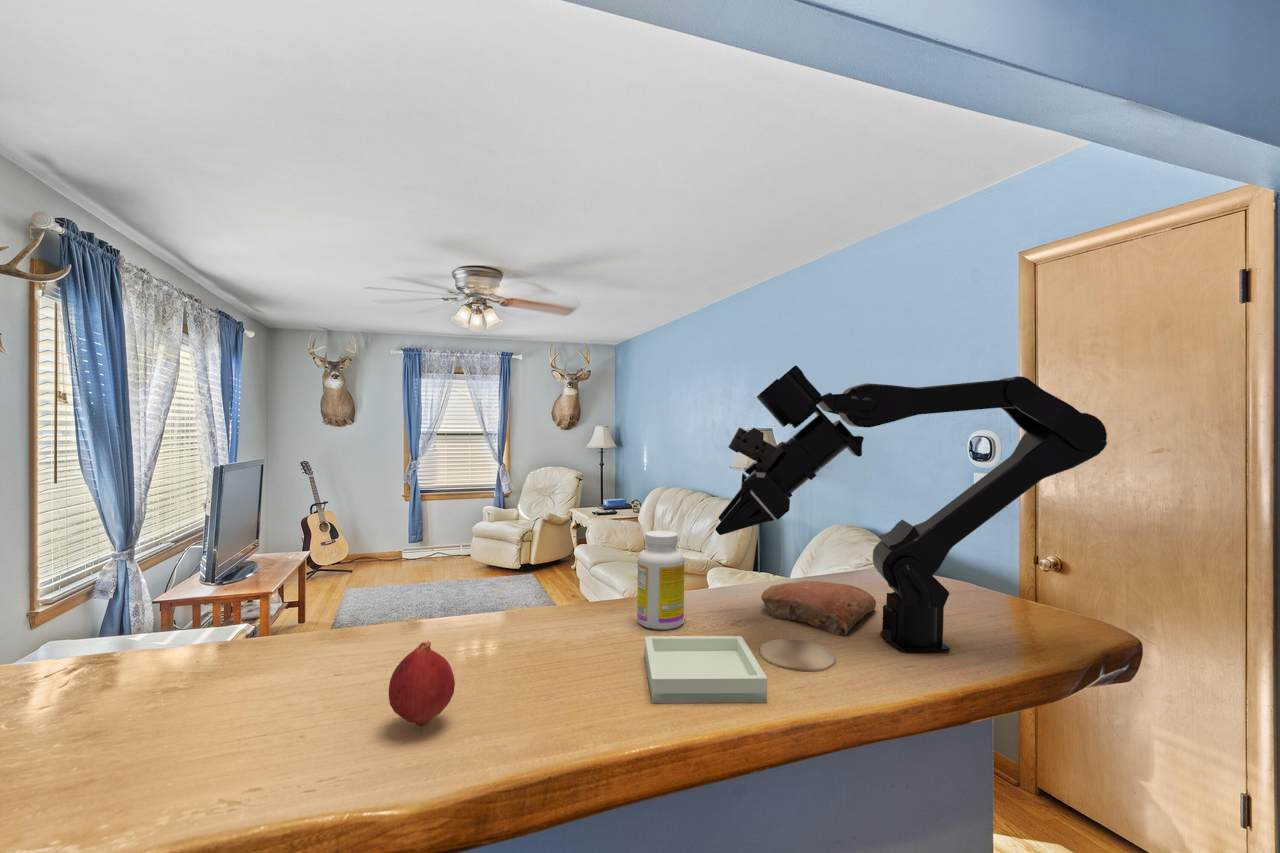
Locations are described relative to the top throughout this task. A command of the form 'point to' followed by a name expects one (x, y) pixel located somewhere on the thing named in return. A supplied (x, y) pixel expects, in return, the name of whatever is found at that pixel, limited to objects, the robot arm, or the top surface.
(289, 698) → the top surface
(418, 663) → the onion
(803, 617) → the ceramic shard
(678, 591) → the supplement bottle
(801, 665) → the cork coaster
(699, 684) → the tray
